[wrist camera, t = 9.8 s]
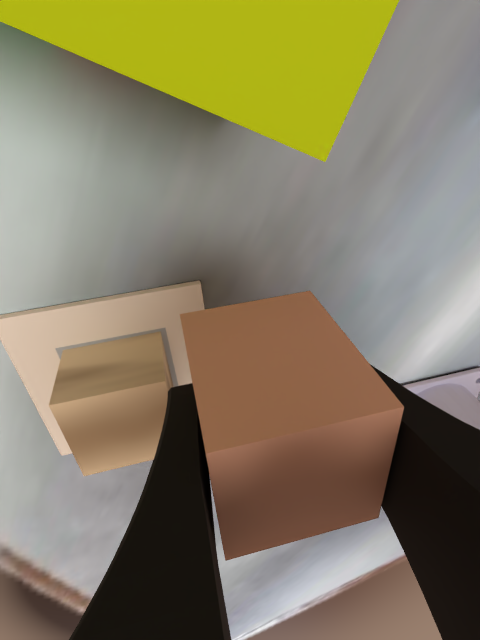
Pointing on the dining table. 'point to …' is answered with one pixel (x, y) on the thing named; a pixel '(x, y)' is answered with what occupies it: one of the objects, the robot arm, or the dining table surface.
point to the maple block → (112, 401)
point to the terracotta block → (288, 421)
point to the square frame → (95, 336)
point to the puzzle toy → (228, 54)
